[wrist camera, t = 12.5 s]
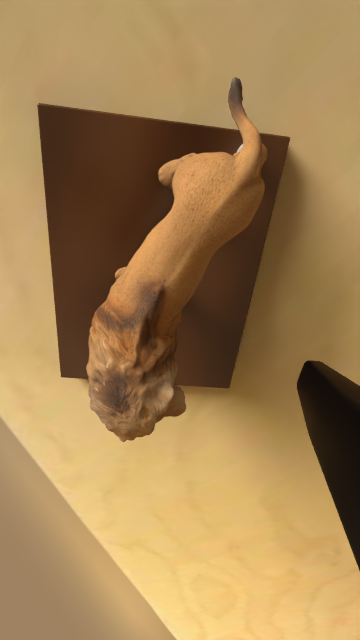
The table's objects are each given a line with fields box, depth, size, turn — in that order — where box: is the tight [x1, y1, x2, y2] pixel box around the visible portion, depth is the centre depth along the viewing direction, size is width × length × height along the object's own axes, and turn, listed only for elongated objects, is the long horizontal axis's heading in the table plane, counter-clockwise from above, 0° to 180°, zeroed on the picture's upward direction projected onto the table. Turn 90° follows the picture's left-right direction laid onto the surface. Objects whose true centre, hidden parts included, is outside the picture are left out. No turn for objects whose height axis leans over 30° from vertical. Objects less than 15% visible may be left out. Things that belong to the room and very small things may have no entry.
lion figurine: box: [86, 77, 267, 442], centre depth 14 cm, size 15×5×9 cm, turn 159°
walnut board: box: [38, 103, 290, 388], centre depth 19 cm, size 12×16×1 cm
